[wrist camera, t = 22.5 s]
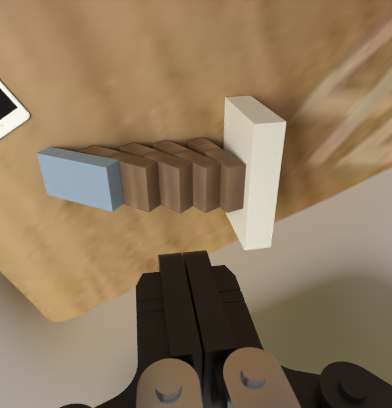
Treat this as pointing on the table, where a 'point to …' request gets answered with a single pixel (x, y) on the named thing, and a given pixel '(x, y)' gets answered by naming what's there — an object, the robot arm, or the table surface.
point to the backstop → (255, 166)
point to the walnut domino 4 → (224, 173)
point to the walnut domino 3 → (198, 175)
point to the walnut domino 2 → (168, 176)
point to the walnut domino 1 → (134, 177)
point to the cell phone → (10, 111)
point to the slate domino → (82, 178)
